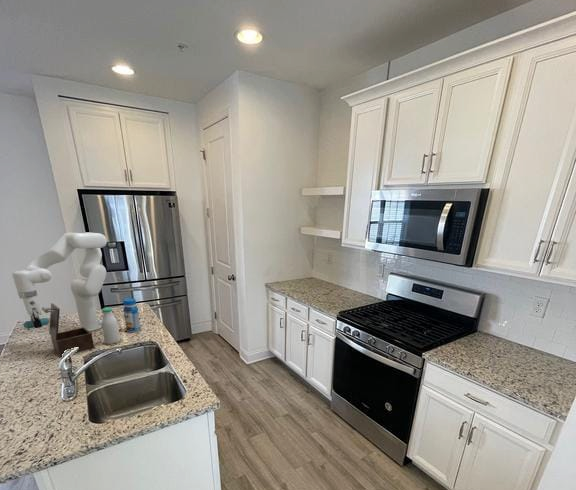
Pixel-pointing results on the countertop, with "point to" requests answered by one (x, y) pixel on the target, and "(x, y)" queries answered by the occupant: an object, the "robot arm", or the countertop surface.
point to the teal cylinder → (30, 324)
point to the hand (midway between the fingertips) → (37, 326)
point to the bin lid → (53, 320)
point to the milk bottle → (110, 327)
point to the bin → (73, 340)
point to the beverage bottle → (131, 315)
